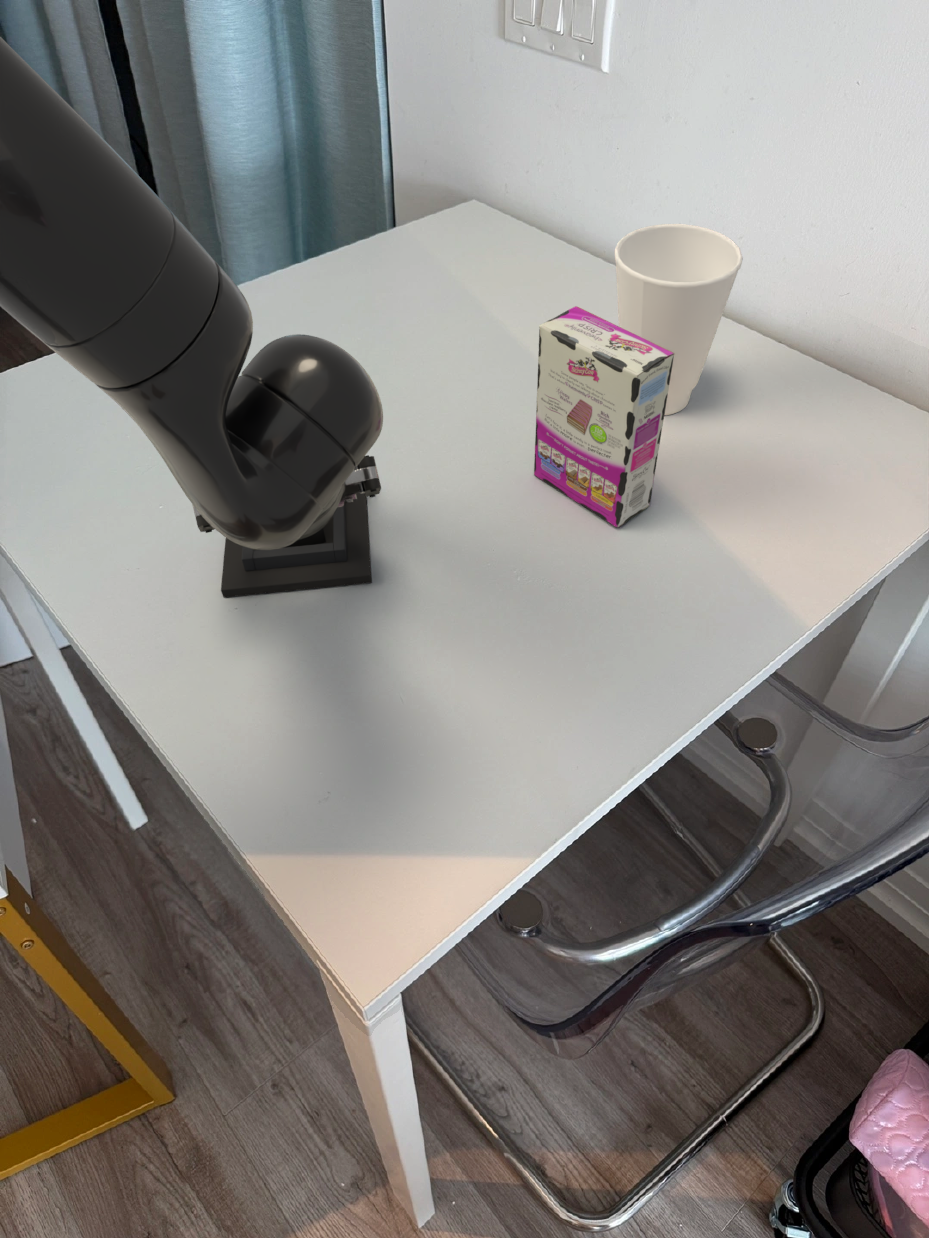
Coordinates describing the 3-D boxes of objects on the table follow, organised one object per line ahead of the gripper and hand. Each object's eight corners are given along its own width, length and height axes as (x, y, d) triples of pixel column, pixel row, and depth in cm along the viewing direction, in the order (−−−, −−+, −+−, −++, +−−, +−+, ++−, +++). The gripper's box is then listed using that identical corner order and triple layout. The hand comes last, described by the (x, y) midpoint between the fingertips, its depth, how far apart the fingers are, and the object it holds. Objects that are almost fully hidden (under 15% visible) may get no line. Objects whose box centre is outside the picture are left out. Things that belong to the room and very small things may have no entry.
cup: (733, 390, 97) (766, 246, 85) (674, 444, 91) (700, 298, 79) (640, 353, 102) (658, 211, 90) (578, 401, 97) (589, 258, 85)
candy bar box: (653, 505, 85) (678, 352, 73) (617, 531, 83) (638, 377, 71) (566, 452, 91) (576, 301, 79) (531, 475, 89) (536, 323, 77)
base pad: (223, 598, 79) (216, 578, 77) (231, 500, 88) (226, 480, 86) (371, 583, 80) (368, 563, 78) (366, 487, 88) (363, 467, 86)
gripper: (377, 405, 61) (360, 442, 77) (164, 447, 59) (192, 476, 75) (402, 513, 62) (380, 528, 78) (192, 559, 60) (214, 565, 75)
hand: (288, 503), depth 76 cm, fingers open, 8 cm apart
